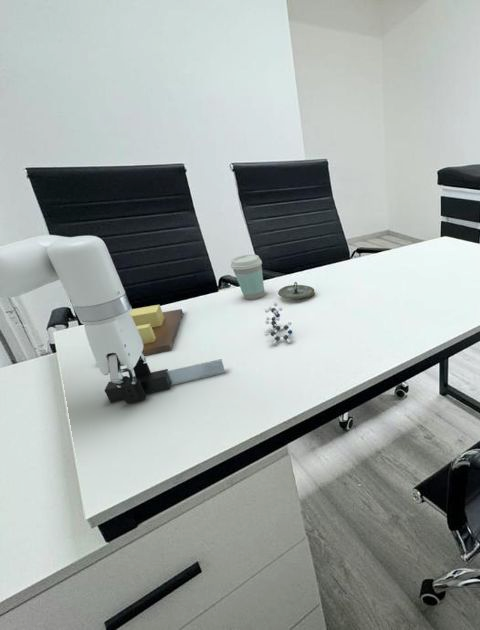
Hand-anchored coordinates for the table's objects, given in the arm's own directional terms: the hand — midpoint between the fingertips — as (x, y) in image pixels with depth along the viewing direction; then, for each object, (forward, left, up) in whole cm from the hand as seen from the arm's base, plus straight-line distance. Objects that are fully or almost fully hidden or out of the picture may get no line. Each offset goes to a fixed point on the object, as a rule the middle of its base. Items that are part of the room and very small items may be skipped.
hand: (140, 390), depth 76 cm
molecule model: (+27, +12, -1) cm, 30 cm away
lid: (+34, +35, -1) cm, 49 cm away
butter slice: (-4, +20, +1) cm, 21 cm away
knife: (+5, 0, 0) cm, 5 cm away
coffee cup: (+22, +42, -1) cm, 47 cm away
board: (-4, +27, 0) cm, 27 cm away
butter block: (-4, +31, +1) cm, 31 cm away
